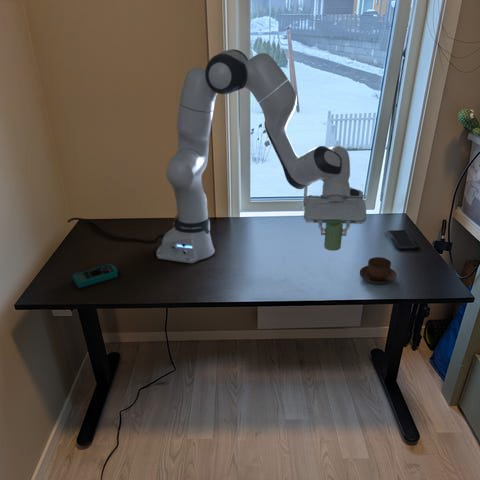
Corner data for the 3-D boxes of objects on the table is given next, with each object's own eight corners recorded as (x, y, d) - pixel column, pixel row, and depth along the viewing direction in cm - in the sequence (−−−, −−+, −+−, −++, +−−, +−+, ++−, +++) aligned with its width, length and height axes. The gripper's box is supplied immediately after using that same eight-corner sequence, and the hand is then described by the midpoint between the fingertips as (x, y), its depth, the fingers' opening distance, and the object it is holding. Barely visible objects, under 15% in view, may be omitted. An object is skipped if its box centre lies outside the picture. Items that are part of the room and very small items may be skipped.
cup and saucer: (403, 280, 156) (406, 264, 153) (377, 290, 151) (380, 274, 148) (376, 266, 165) (379, 250, 161) (351, 276, 160) (353, 260, 156)
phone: (397, 247, 174) (386, 230, 186) (397, 249, 175) (386, 233, 187) (418, 246, 174) (406, 229, 186) (417, 249, 175) (405, 232, 187)
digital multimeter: (120, 277, 165) (118, 270, 163) (78, 289, 158) (76, 282, 157) (113, 269, 170) (111, 262, 168) (73, 280, 164) (71, 273, 162)
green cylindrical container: (324, 250, 152) (325, 226, 148) (324, 243, 157) (325, 219, 152) (340, 250, 152) (343, 226, 147) (340, 243, 156) (342, 220, 151)
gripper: (304, 190, 152) (301, 230, 149) (367, 191, 149) (366, 232, 146) (304, 198, 158) (301, 237, 156) (365, 200, 155) (363, 239, 153)
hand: (333, 235), depth 151 cm, fingers closed on green cylindrical container, 5 cm apart
